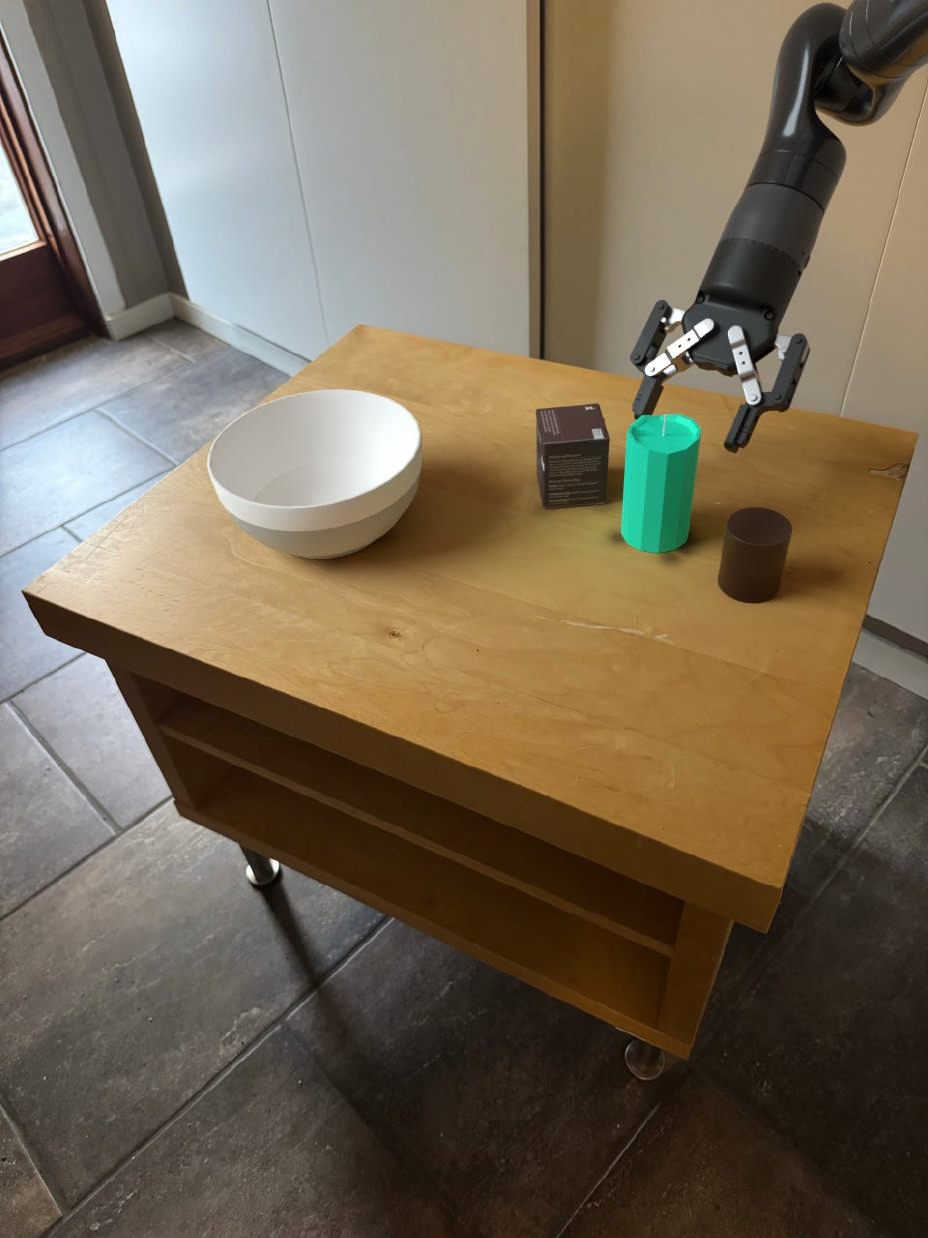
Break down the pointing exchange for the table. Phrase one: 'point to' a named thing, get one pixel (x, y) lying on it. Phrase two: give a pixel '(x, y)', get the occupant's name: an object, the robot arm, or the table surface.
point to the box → (572, 455)
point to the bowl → (318, 470)
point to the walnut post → (754, 554)
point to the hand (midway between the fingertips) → (684, 435)
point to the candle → (659, 481)
